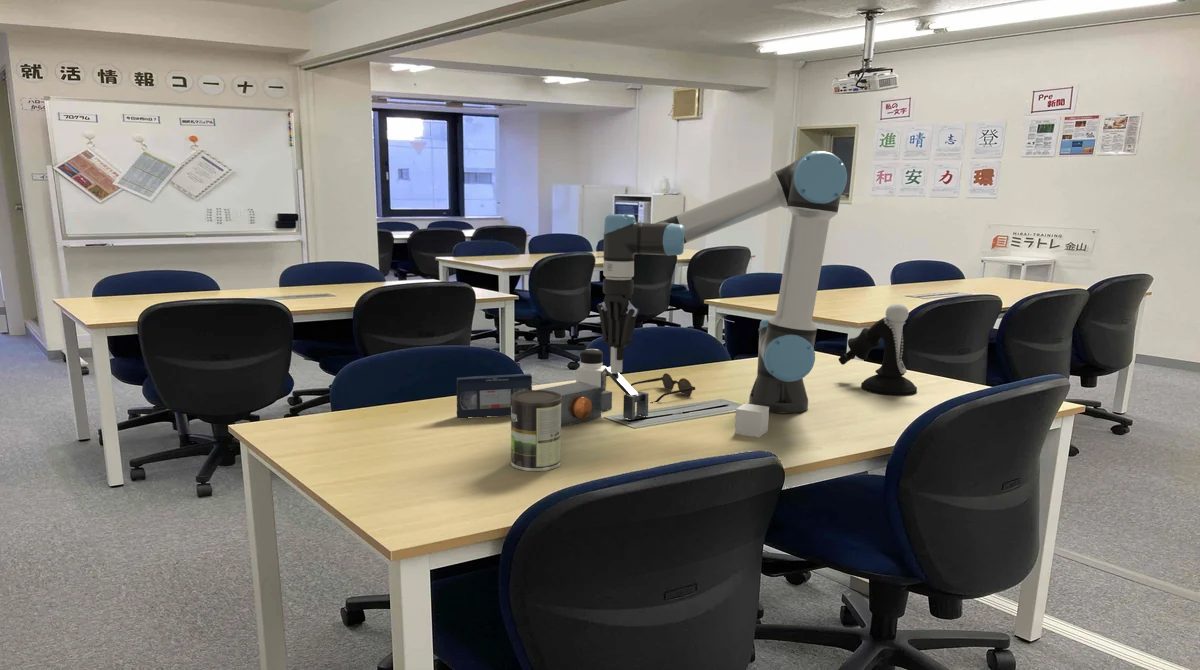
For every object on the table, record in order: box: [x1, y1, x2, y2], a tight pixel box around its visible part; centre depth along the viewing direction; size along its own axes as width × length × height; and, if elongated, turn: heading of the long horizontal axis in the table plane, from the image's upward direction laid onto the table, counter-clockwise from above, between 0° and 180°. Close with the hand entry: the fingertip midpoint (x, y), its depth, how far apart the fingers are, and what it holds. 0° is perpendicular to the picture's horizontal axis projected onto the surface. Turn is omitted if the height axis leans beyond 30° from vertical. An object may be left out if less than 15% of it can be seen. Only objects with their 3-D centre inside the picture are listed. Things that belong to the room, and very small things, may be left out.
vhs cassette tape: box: [455, 373, 533, 419], centre depth 200 cm, size 18×3×10 cm, turn 105°
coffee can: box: [510, 389, 562, 472], centre depth 165 cm, size 10×10×14 cm
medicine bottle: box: [575, 348, 607, 391], centre depth 224 cm, size 7×7×12 cm
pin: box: [572, 396, 592, 419], centre depth 199 cm, size 13×5×5 cm, turn 43°
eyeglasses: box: [630, 372, 696, 404], centre depth 224 cm, size 15×15×5 cm
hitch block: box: [537, 381, 602, 427], centre depth 198 cm, size 8×14×8 cm, turn 133°
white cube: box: [734, 403, 770, 438], centre depth 190 cm, size 6×6×6 cm
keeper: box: [604, 366, 644, 403], centre depth 203 cm, size 12×3×2 cm, turn 43°
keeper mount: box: [601, 390, 649, 420], centre depth 204 cm, size 14×6×6 cm, turn 43°
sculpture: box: [838, 303, 918, 397], centre depth 236 cm, size 15×24×25 cm, turn 45°
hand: (616, 372), depth 204 cm, fingers closed
